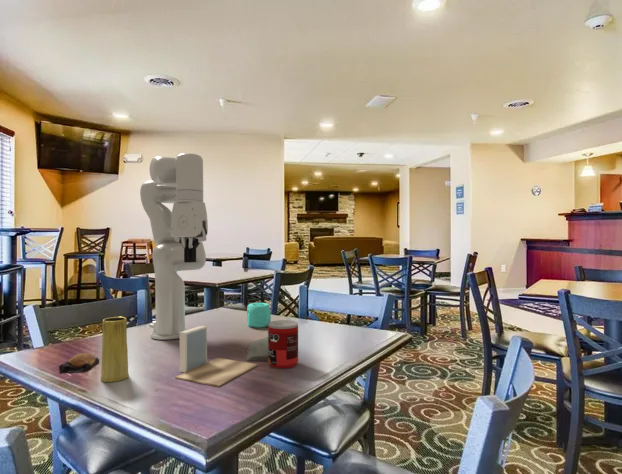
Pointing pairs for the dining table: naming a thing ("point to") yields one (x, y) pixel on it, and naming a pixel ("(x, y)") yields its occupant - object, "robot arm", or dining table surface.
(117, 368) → the vase
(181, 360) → the tile
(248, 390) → the dining table surface
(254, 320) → the decorative dice
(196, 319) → the dining table surface
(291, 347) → the canned food
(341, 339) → the dining table surface
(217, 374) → the mat
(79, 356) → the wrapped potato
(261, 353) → the stone slab
